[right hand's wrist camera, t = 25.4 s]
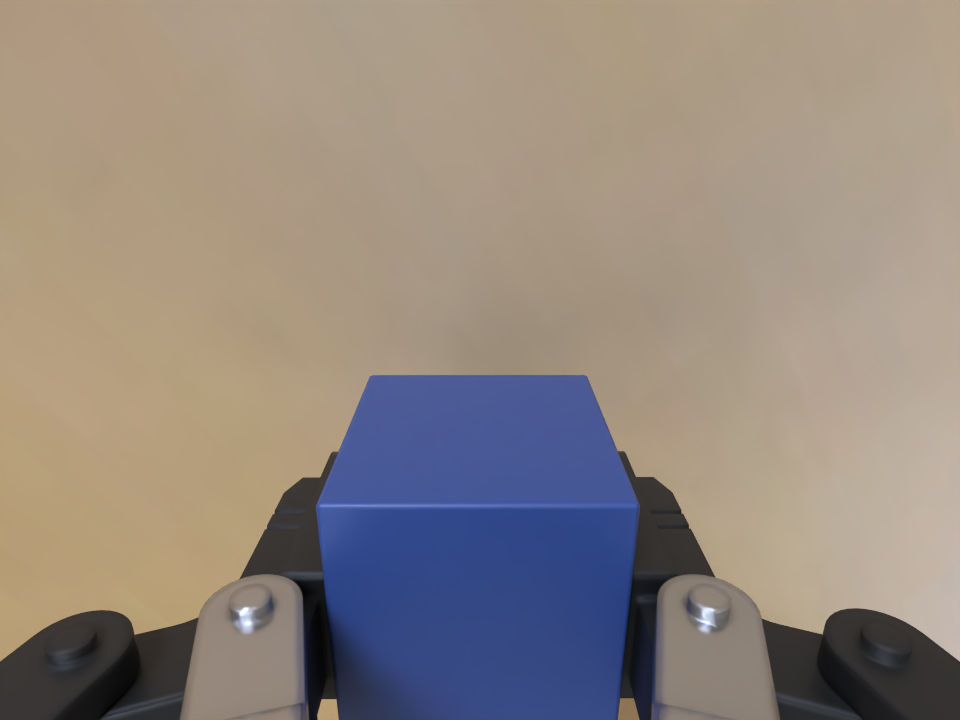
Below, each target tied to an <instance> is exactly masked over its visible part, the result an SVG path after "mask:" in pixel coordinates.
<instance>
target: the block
mask: <svg viewBox="0 0 960 720" xmlns="http://www.w3.org/2000/svg"><path fill="white" fill-rule="evenodd" d="M316 512H317V521H318V531H319V540H320V549H321V559H322V568H323V577H324V586H325V596H326V605H327V614H328V624H329V633H330V642H331V652H332V661H333V670H334V679H335V689H336V698H337V707H338V717H339V720H618V712H619V702H620V693H621V683H622V674H623V664H624V655H625V645H626V636H627V626H628V617H629V607H630V598H631V588H632V579H633V569H634V560H635V550H636V541H637V531H638V522H639V512H640V505H639V502H638V500H637V497H636V495H635V493H634V490H633V488H632V485H631V483H630V480H629V478H628V475H627V473H626V471H625V468H624V466H623V463H622V461H621V458H620V456H619V454H618V451H617V449H616V446H615V444H614V441H613V439H612V436H611V434H610V432H609V429H608V427H607V424H606V422H605V419H604V417H603V415H602V412H601V410H600V407H599V405H598V402H597V400H596V397H595V395H594V393H593V390H592V388H591V385H590V383H589V380H588V378H587V376H584V375H373V376H370V378H369V380H368V383H367V385H366V387H365V390H364V392H363V395H362V397H361V399H360V402H359V404H358V407H357V409H356V411H355V414H354V416H353V419H352V421H351V423H350V426H349V428H348V431H347V433H346V435H345V438H344V440H343V443H342V445H341V447H340V450H339V452H338V455H337V457H336V459H335V462H334V464H333V467H332V469H331V471H330V474H329V476H328V479H327V481H326V483H325V486H324V488H323V491H322V493H321V495H320V498H319V500H318V503H317V505H316Z"/></svg>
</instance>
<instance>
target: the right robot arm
mask: <svg viewBox="0 0 960 720" xmlns="http://www.w3.org/2000/svg"><path fill="white" fill-rule="evenodd" d="M618 454H619V456H620V458H621V461H622V463H623V466H624V468H625V471H626V473H627V475H628V478H629V480H630V483H631V485H632V488H633V490H634V493H635V495H636V497H637V500H638V502H639V505H640V512H639V522H638V531H637V541H636V550H635V560H634V569H633V579H632V588H631V598H630V607H629V617H628V626H627V636H626V645H625V655H624V664H623V674H622V683H621V693H620V698H634V700H635V704H636V707H637V711H638V715H639V719H640V720H960V662H959V661H958V660H957V659H956V658H954V657H953V656H952V655H950V654H949V653H948V652H946V651H945V650H944V649H943V648H941V647H940V646H939V645H937V644H936V643H935V642H934V641H932V640H931V639H930V638H928V637H927V636H926V635H924V634H923V633H922V632H920V631H919V630H917V629H916V628H914V627H913V626H911V625H909V624H908V623H906V622H904V621H902V620H900V619H897V618H895V617H893V616H890V615H887V614H884V613H881V612H877V611H873V610H867V609H857V608H855V609H845V610H840V611H838V612H835V613H834V614H832V615H831V616H830V617H829V618H828V619H827V621H826V624H825V627H824V631H823V635H822V634H818V633H814V632H809V631H805V630H801V629H796V628H792V627H788V626H784V625H780V624H776V623H772V622H769V621H767V620H764V619H762V618H761V615H760V611H759V609H758V607H757V606H756V604H755V603H754V602H753V600H752V599H751V598H750V597H749V596H748V595H747V594H746V593H745V592H743V591H742V590H740V589H739V588H737V587H736V586H734V585H732V584H730V583H728V582H726V581H724V580H721V579H718V578H715V576H714V574H713V572H712V570H711V568H710V566H709V564H708V562H707V560H706V558H705V556H704V554H703V552H702V550H701V548H700V546H699V544H698V542H697V540H696V538H695V536H694V534H693V532H692V530H691V529H689V524H688V522H687V521H686V519H685V517H684V515H683V514H681V509H680V507H679V505H678V503H677V501H676V499H675V497H674V495H673V493H672V492H671V491H670V490H669V489H667V488H666V487H665V486H664V485H662V484H661V483H660V482H659V481H657V480H656V479H655V478H654V477H636V476H635V474H634V472H633V469H632V467H631V465H630V462H629V460H628V458H627V455H626V453H625V452H624V451H618ZM337 455H338V452H332V453H331V455H330V457H329V459H328V461H327V464H326V466H325V468H324V471H323V473H322V475H321V477H320V478H302V479H301V480H300V481H298V482H297V483H296V484H295V485H293V486H292V487H291V488H290V489H288V490H287V491H286V492H285V493H284V494H283V496H282V498H281V500H280V502H279V504H278V506H277V508H276V509H275V514H273V515H272V517H271V519H270V521H269V523H268V525H267V529H265V531H264V533H263V535H262V537H261V539H260V541H259V542H258V544H257V546H256V548H255V550H254V552H253V554H252V556H251V558H250V560H249V562H248V564H247V566H246V568H245V570H244V572H243V573H242V575H241V577H240V579H239V580H236V581H234V582H232V583H230V584H228V585H226V586H224V587H222V588H221V589H220V590H218V591H217V592H215V593H214V594H213V595H212V596H211V597H210V598H209V599H208V600H207V602H206V603H205V604H204V606H203V607H202V609H201V611H200V614H199V617H198V618H196V619H193V620H191V621H188V622H185V623H182V624H179V625H175V626H171V627H167V628H162V629H158V630H154V631H150V632H145V633H141V634H137V635H135V634H134V630H133V627H132V623H131V622H130V620H129V619H128V618H127V617H126V616H124V615H123V614H120V613H118V612H114V611H105V610H99V611H90V612H84V613H80V614H76V615H73V616H70V617H67V618H65V619H62V620H60V621H58V622H56V623H54V624H52V625H50V626H48V627H46V628H45V629H43V630H41V631H40V632H39V633H37V634H36V635H34V636H33V637H32V638H30V639H29V640H28V641H26V642H25V643H24V644H23V645H21V646H20V647H19V648H17V649H16V650H15V651H14V652H12V653H11V654H10V655H8V656H7V657H6V658H4V659H3V660H2V661H1V662H0V720H318V719H317V714H318V710H319V706H320V703H321V699H337V698H336V689H335V679H334V670H333V661H332V652H331V642H330V633H329V624H328V614H327V605H326V596H325V586H324V577H323V568H322V559H321V549H320V540H319V531H318V521H317V512H316V505H317V503H318V500H319V498H320V495H321V493H322V491H323V488H324V486H325V483H326V481H327V479H328V476H329V474H330V471H331V469H332V467H333V464H334V462H335V459H336V457H337Z"/></svg>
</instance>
